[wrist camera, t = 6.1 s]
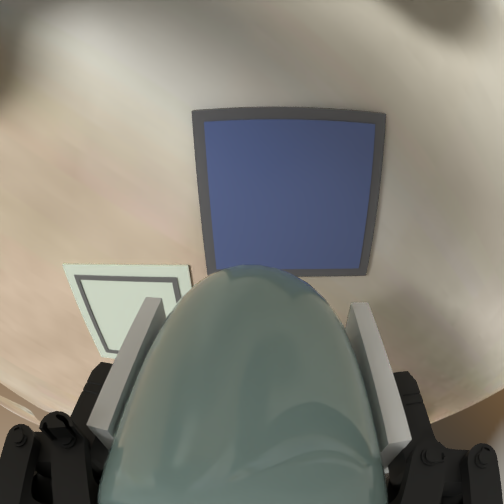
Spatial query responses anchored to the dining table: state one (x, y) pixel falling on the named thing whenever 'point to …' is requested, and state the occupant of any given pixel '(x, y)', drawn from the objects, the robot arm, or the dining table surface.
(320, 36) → the dining table surface
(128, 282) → the print sheet
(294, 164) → the ink pad
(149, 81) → the dining table surface
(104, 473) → the cup
